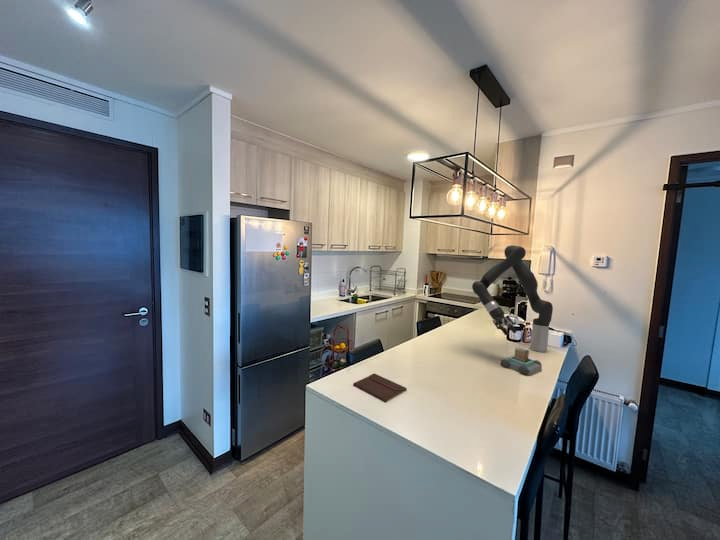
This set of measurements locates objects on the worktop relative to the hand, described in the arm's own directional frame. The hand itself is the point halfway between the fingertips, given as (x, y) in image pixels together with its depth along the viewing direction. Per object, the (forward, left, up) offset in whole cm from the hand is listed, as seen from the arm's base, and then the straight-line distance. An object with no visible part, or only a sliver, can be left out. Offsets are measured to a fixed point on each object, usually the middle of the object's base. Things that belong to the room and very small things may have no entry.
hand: (511, 333), depth 167 cm
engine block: (0, +7, -15) cm, 16 cm away
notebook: (+83, -15, -18) cm, 86 cm away
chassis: (0, +7, -18) cm, 19 cm away
